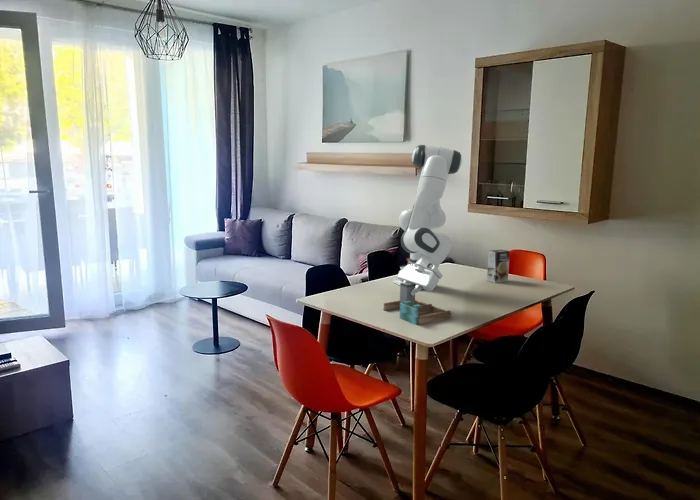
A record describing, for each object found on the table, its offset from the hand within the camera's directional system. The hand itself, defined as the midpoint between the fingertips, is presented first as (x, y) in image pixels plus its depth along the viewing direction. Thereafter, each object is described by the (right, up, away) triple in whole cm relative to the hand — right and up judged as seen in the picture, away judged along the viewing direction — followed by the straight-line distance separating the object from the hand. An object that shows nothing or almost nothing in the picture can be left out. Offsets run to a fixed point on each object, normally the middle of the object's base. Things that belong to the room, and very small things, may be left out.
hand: (406, 293), depth 215 cm
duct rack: (+4, -8, -3) cm, 10 cm away
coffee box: (+53, +1, +55) cm, 77 cm away
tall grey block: (0, -5, +1) cm, 5 cm away
